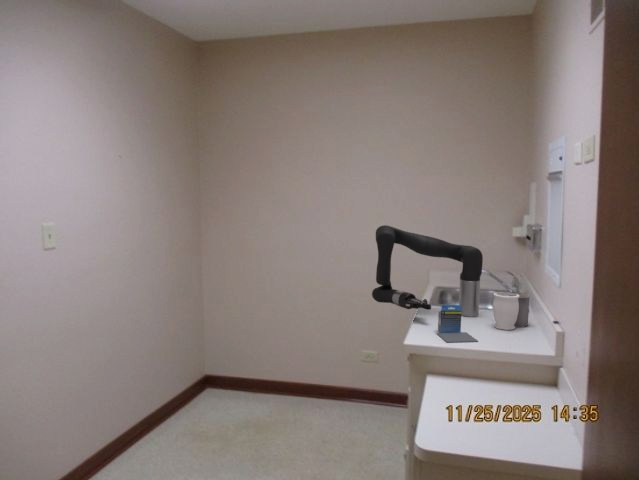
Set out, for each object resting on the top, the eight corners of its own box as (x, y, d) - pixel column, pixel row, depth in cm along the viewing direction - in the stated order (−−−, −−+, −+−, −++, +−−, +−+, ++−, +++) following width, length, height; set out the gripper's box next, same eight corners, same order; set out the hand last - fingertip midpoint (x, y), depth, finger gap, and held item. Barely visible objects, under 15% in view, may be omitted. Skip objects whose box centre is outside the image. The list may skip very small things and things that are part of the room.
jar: (502, 332, 202) (504, 297, 200) (487, 325, 212) (488, 292, 210) (523, 329, 205) (524, 295, 204) (506, 323, 215) (508, 291, 213)
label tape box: (457, 330, 204) (458, 302, 203) (460, 333, 200) (462, 304, 199) (437, 330, 204) (438, 302, 203) (440, 333, 200) (441, 304, 198)
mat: (436, 334, 199) (436, 333, 199) (466, 333, 200) (466, 332, 200) (446, 342, 187) (446, 341, 187) (478, 341, 189) (478, 340, 189)
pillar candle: (506, 320, 220) (507, 288, 219) (529, 322, 216) (530, 290, 214) (503, 325, 212) (505, 292, 210) (527, 328, 207) (528, 295, 206)
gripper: (393, 293, 222) (419, 300, 207) (414, 290, 229) (440, 297, 214) (393, 309, 223) (418, 317, 208) (414, 305, 230) (440, 313, 215)
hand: (429, 307), depth 211 cm, fingers closed
